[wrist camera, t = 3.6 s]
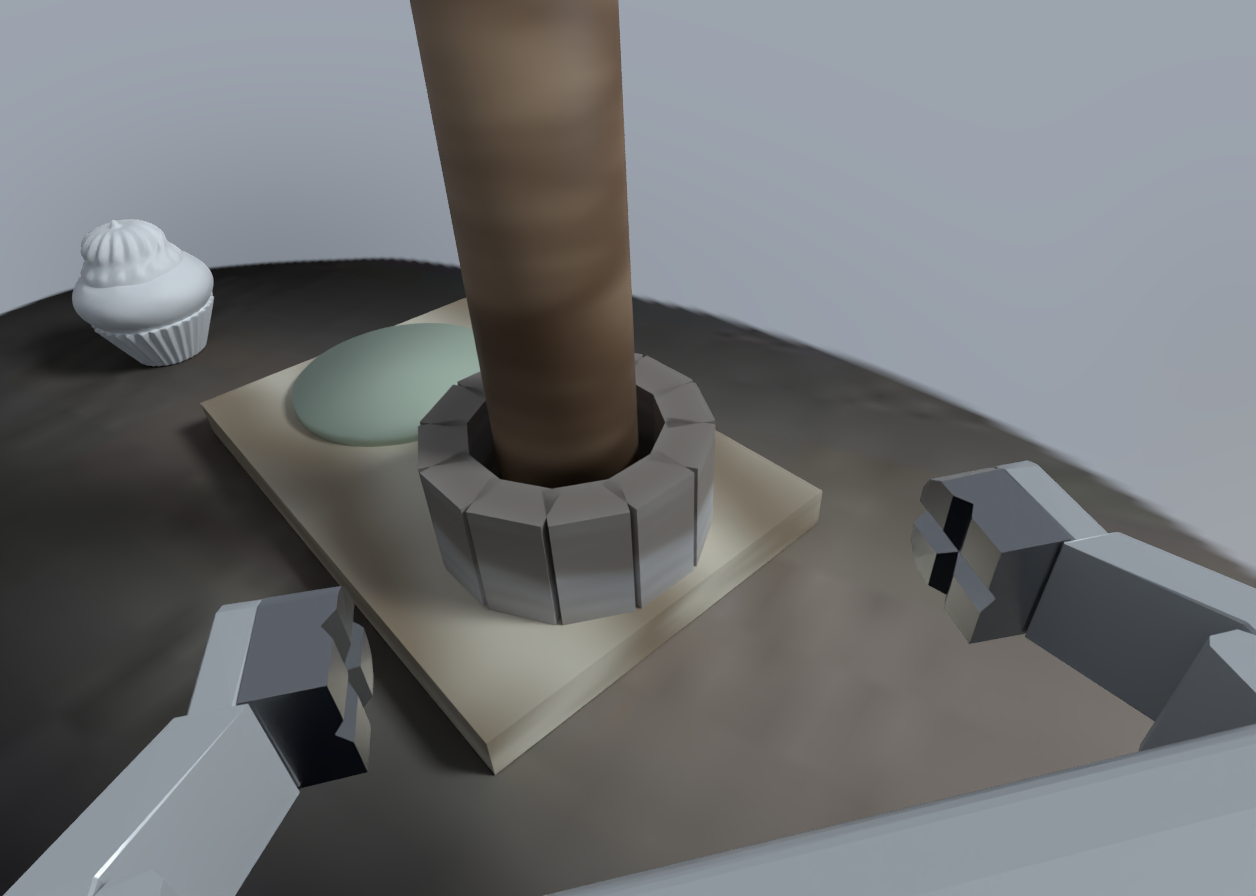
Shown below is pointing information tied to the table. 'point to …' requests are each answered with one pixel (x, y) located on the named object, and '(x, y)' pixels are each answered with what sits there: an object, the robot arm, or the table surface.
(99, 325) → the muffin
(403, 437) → the sage pad
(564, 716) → the birch board
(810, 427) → the table surface
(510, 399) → the walnut peg
